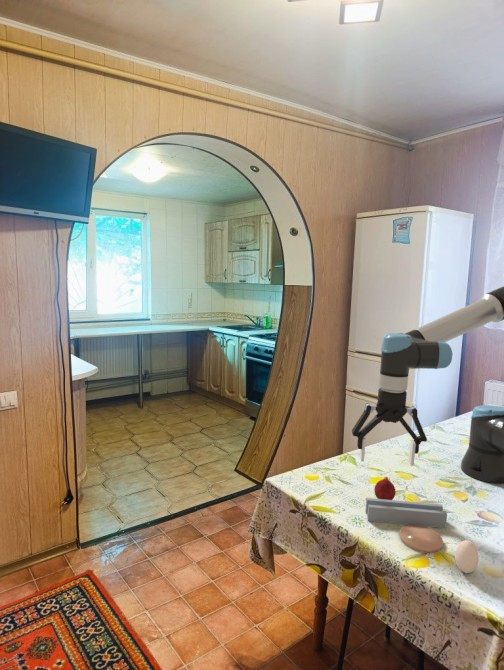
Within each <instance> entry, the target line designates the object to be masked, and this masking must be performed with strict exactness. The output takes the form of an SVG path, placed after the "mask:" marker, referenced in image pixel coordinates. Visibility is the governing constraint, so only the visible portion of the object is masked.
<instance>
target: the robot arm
mask: <svg viewBox="0 0 504 670" xmlns="http://www.w3.org/2000/svg"><path fill="white" fill-rule="evenodd" d="M501 321H504V286H500V287H499V288H497V289H494V290H492V291H489V292H487V293H485V294H482V295H481V296H480V299H479V300H477V301H474V302H472V303H471V304H469V305H466V306H464V307H462V308H459V309H457V310H455V311H452V312H450V313H448V314H446V315H444V316H441V317H439V318H437V319H435V320H432V321H430V322H428V323H426V324H424V325H421V326H420V327H417V328H415V329H412V330H410V331H406V332H405V333H403V332H396V333H395V332H394V333H393V332H390V333H386V334H385V335H383V339H382V343H381V349H380V350H381V356H380V366H379V367H380V369H379V378H378V379H379V381H378V387H379V388H378V390H377V391H378V392H377V402H376V405H373V404H370V402H369V403H368V402H367V403H366V404H365V406H364V410H363V412H362V414H361V415H360V416H359V418H358V419H357V421H356V423H355V425H354V426H353V428H352V429H351V434H352V436H353V437H357V441H356V444H357V445H356V446H357V448H358V449H359V450H360V454H359V458H360V459H359V460H360V462H365V454H366V442H367V440H366V436H367V435H368V434H369V433H370V432H371V431H372V430H373V429H374V428H375V427H376V426H377V425H379V424H380V423H382V421H383V422H384V423H394V424H397V423H398V422H400V424H401V425H402V426H403V427H404V429H405V430H406V432H407V434H409V436H410V437H411V438H412V439H410V442H409V444H410V445H409V453H408V464H409V465H410V466H411V467H412V466H413V467H414V464H415V457H416V455H417V454H418V453H419V450H420V445H421V443H423V442H425V443H426V442H427V441H428V438H427V436H426V433H425V431H424V429H423V426H422V424H421V422H420V419H419V417H418V409H417V408H416V407H415V406H414V405H413V406H411V407H407V406H406V404H407V395H408V394H407V393H408V392H407V390H408V384H409V383H408V382H409V371H410V370H411V369H432V370H433V369H434V370H438V369H439V370H440V369H446V368H448V367H449V366H450V364H452V361H453V350H452V347H451V345H450V344H448V343H447V342H448V341H451V340H453V339H455V338H458V337H460V336H462V335H465V334H466V333H469V332H471V331H474V330H475V329H478V328H480V327H482V326H485V325H486V324H489V323H491V322H493V323H499V322H501ZM374 411H376V413H377V414H375V415H374V417H373V418H372V419H371V420H370V421H369V422H368V423H367V424H365V423H366V421H367V420H368V418H369V417H370V414H372V413H373V412H374ZM407 413H408V415H409V416H410V417H411V419H412V421H413V423H414V426H415V428H416V430H417V433H418V435H417V434H416V433H415V432H414V430H413V429H412V428H411V426H410V425H409V424H408V423H407V421H406V420H405V419H404V416H405V415H406V414H407ZM470 418H471V420H470V430H469V442H468V448H467V450H466V452H465V454H463V457H462V460H461V463H460V469H461V471H462V472H463V473H465V474H466V475H467V476H469V477H471V478H474V479H476V480H479V481H482V482H486V483H492V484H504V406H501V405H500V406H499V405H492V404H491V405H487V404H486V405H485V404H484V405H483V404H482V405H477V406H475V407H474V408H472V413H471V417H470ZM364 425H365V426H364ZM363 426H364V427H363ZM362 427H363V428H362ZM415 454H416V455H415Z"/></svg>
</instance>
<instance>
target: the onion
mask: <svg viewBox="0 0 504 670" xmlns="http://www.w3.org/2000/svg"><path fill="white" fill-rule="evenodd" d="M396 493H397V491H396V487H395V486H394V483H393V482H391V480H389V477H388V476H384V477H383V479H380V480H379V481H378V482H376V484H375V486H374V495H375V497H376V499H385V500H394V499H395V496H396Z"/></svg>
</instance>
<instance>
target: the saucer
mask: <svg viewBox="0 0 504 670" xmlns="http://www.w3.org/2000/svg"><path fill="white" fill-rule="evenodd" d="M399 539H400V541H401V542H402V543H403V544H404V545H405V546H406V547H408V548H410V549H413V550H414V551H418V552H421V553H430V554H432V553H437V552H439V551H440V550H441V549H442V548H443V544H444V543H443V537H442V536H441V535H440V534H439V533H438V532H437V531H435V530H434V529H432V528H430V527H429V526H421V525H414V524H412V525H408V524H405V525H403V526H402V527H401V528H400V529H399Z"/></svg>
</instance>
